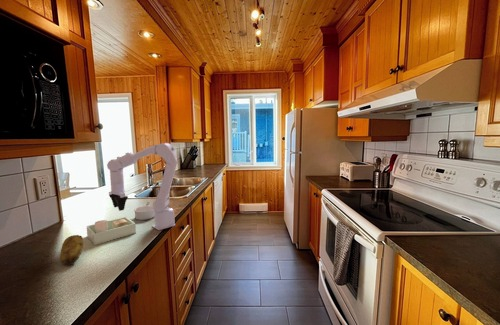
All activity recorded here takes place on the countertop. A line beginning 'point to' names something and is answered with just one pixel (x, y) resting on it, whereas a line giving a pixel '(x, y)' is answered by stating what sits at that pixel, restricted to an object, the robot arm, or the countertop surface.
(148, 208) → the saucepan
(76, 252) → the potato
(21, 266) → the countertop surface
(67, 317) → the countertop surface
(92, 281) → the countertop surface
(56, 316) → the countertop surface
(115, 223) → the maple cube
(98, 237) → the tote
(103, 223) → the pale pink egg
